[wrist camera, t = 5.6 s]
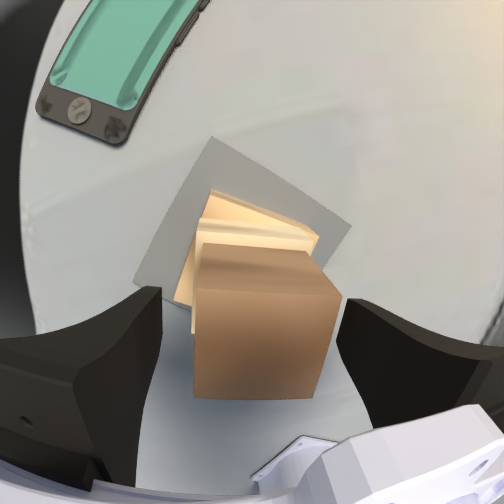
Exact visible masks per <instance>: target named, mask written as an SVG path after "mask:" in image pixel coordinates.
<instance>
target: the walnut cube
mask: <svg viewBox="0 0 504 504" xmlns="http://www.w3.org/2000/svg"><path fill="white" fill-rule="evenodd" d="M341 300H342V295H341V294H340V292H339V291H338V290H337V289H336V287H335V286H334V285H333V284H332V282H331V281H330V280H329V279H328V278H327V276H326V275H325V274H324V273H323V271H322V270H321V269H320V268H319V267H318V265H317V264H316V263H315V262H314V261H313V259H312V258H311V257H310V256H309V255H308V253H307V252H306V251H300V250H288V249H276V248H264V247H252V246H240V245H227V244H215V243H203V248H202V254H201V261H200V268H199V275H198V282H197V291H196V313H195V341H194V398H208V399H232V400H282V399H306V398H312V397H313V394H314V391H315V388H316V385H317V382H318V379H319V376H320V373H321V370H322V367H323V364H324V360H325V357H326V354H327V351H328V347H329V344H330V340H331V337H332V334H333V330H334V326H335V323H336V319H337V315H338V312H339V308H340V304H341Z"/></svg>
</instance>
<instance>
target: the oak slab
mask: <svg viewBox="0 0 504 504" xmlns="http://www.w3.org/2000/svg"><path fill="white" fill-rule="evenodd" d="M200 218H207V219H219V220H230V221H241V222H252V223H262V224H273V225H283V226H292V227H299V228H300V229H301V230H303V231H304V232H305V233H306V234H307V235H308V236H309V237H310V238H311V239H312V240H313V246H312V252H313V250H314V247H315V245H316V243H317V241H318V239H319V236H318V235H317V234H316V233H315V232H314V231H313V230H312V229H310V228H309V227H308V226H307V225H305V224H302V223H300V222H297V221H295V220H292V219H290V218H287V217H285V216H282V215H280V214H277V213H275V212H272V211H269V210H267V209H264V208H262V207H259V206H256V205H254V204H251V203H249V202H246V201H243V200H241V199H238V198H235V197H233V196H230V195H227V194H224V193H222V192H219V191H216V190H213V189H211V191H210V193H209V196H208V198H207V201H206V204H205V207H204V209H203V212H202V215H201V217H200ZM197 227H198V226H197ZM196 231H197V229H196ZM196 231H195V234H194V237H193V240H192V243H191V246H190V248H189V251H188V254H187V257H186V260H185V263H184V266H183V269H182V272H181V275H180V278H179V281H178V284H177V288H176V292H175V295H174V299H173V300H174V301H177V302H180V303H183V304H186V305H189V306H192V297H193V277H194V260H195V244H196ZM312 252H311V254H312Z"/></svg>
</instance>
